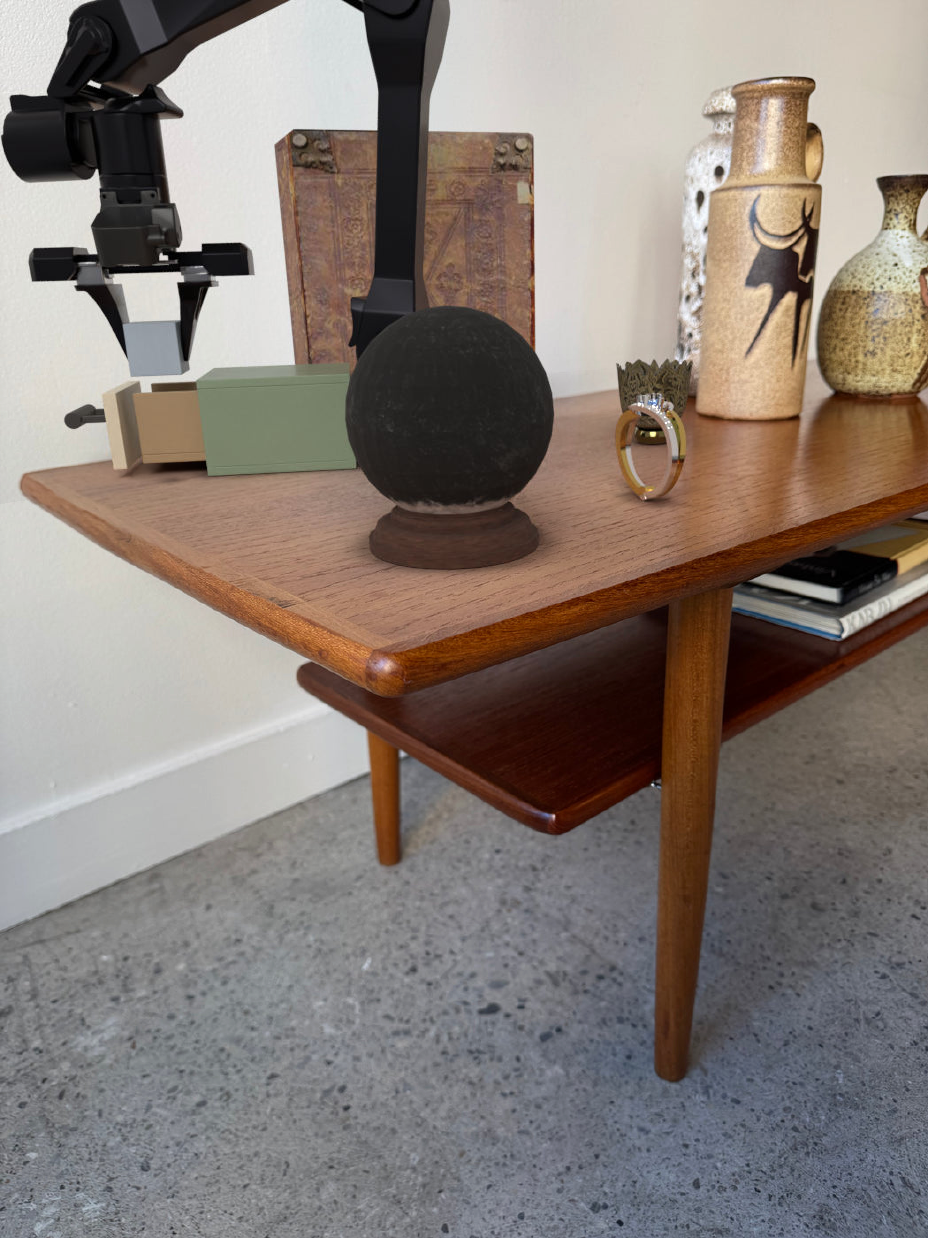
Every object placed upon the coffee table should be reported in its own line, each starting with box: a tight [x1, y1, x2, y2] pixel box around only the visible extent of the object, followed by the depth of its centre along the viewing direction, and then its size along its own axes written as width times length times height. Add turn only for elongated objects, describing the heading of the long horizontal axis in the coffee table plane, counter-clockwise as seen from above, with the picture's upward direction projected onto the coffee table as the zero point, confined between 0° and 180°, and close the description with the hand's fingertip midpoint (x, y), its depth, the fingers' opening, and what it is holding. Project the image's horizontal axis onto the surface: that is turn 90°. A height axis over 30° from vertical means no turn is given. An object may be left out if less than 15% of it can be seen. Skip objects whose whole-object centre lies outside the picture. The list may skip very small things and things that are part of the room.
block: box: [123, 319, 191, 378], centre depth 85 cm, size 5×5×5 cm
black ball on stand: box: [345, 306, 555, 570], centre depth 59 cm, size 13×13×15 cm
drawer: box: [63, 380, 206, 471], centre depth 88 cm, size 17×10×7 cm, turn 97°
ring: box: [614, 393, 687, 501], centre depth 70 cm, size 7×3×8 cm, turn 23°
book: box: [273, 128, 536, 375], centre depth 100 cm, size 25×9×30 cm, turn 110°
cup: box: [615, 358, 694, 445], centre depth 93 cm, size 8×7×8 cm
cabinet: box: [195, 363, 358, 477], centre depth 89 cm, size 14×12×9 cm
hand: (159, 361), depth 86 cm, fingers closed on block, 5 cm apart
